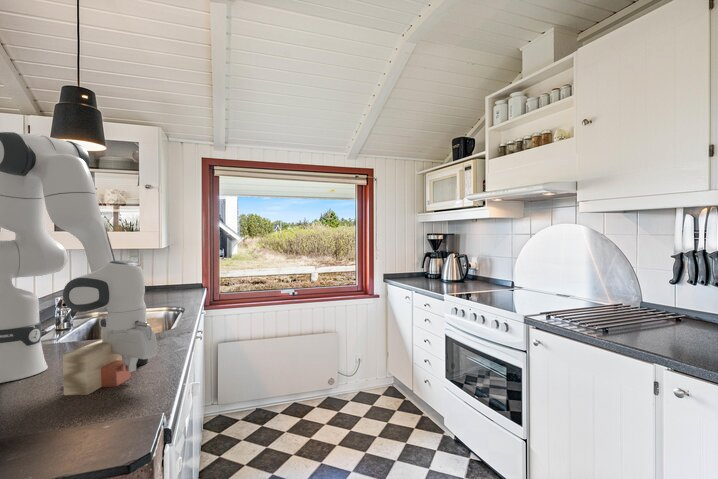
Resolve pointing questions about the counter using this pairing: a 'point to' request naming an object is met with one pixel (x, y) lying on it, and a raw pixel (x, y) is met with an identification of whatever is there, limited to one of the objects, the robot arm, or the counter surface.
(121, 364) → the orange and grey bar
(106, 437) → the counter surface
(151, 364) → the counter surface
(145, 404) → the counter surface
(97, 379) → the birch block
